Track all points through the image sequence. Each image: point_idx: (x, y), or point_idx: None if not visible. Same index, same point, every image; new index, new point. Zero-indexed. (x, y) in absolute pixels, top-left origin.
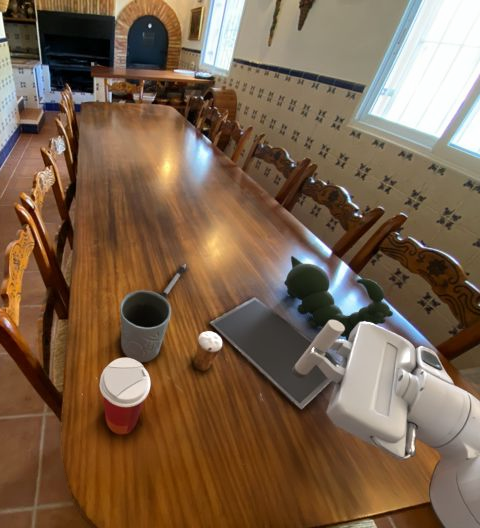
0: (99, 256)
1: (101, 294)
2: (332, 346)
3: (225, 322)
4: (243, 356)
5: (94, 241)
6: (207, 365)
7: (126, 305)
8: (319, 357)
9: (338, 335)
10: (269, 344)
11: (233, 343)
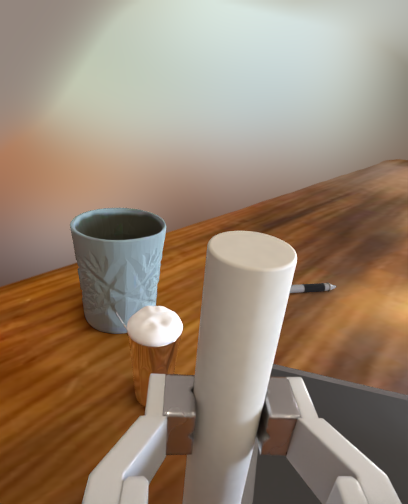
0: (225, 230)
1: (169, 252)
2: (312, 468)
3: None
4: None
5: (242, 220)
6: (139, 388)
7: (121, 223)
8: (146, 401)
9: (224, 299)
10: None
11: None
